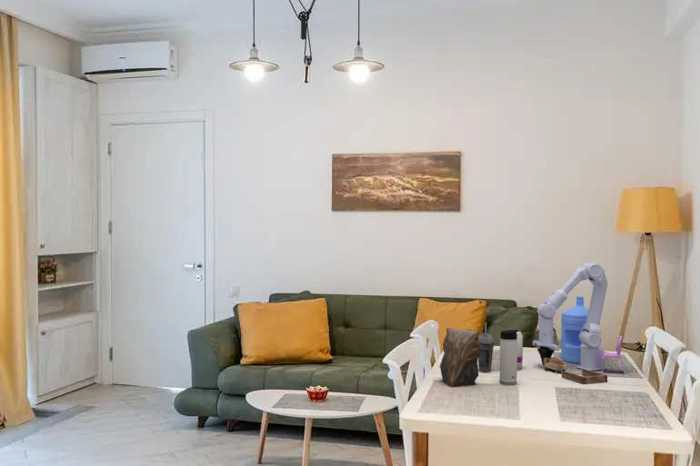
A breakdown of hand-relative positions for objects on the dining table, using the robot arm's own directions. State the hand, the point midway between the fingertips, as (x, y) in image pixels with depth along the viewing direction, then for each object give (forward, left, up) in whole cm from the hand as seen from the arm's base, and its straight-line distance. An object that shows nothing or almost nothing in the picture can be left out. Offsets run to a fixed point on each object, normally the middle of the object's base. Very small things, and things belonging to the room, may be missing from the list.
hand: (545, 365), depth 284 cm
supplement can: (+13, -5, -1) cm, 14 cm away
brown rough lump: (+50, +10, -1) cm, 51 cm away
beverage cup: (+27, -4, -1) cm, 27 cm away
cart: (0, +6, -1) cm, 6 cm away
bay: (0, +22, -1) cm, 22 cm away
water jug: (-25, -8, -1) cm, 26 cm away
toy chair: (-21, +16, -2) cm, 26 cm away
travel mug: (+31, +17, -1) cm, 35 cm away
